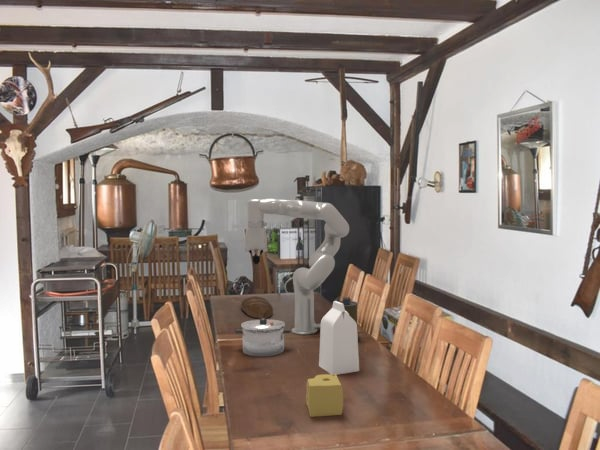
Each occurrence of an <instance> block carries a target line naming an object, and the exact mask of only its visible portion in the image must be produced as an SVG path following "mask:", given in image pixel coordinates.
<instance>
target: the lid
mask: <svg viewBox="0 0 600 450" xmlns="http://www.w3.org/2000/svg"><path fill="white" fill-rule="evenodd" d="M240 325H241V329H242V328H244V329H247V330H257V331H264V330H275V329H280V328H283V327H284V328H285V326H286V323H285V321H282V320H278V319H269V318H266V319H265V318H262V319H252V320H247V321H244V322H242V323H241V324H240Z"/></svg>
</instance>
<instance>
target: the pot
mask: <svg viewBox="0 0 600 450" xmlns="http://www.w3.org/2000/svg"><path fill="white" fill-rule="evenodd" d="M291 333H292V328H285V327H283V328H280V329H275V330H264V331H257V330H247V329H244V328H242V327H241V328H239V329H238V328H237V329H235V334H242V353H243V354H244V355H247V356H250V357H251V356H252V357H274V356H276V355H279V354H282V353H283V352H284V351H285V334H291Z"/></svg>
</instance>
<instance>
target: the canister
mask: <svg viewBox="0 0 600 450" xmlns="http://www.w3.org/2000/svg"><path fill="white" fill-rule="evenodd" d="M338 302H340V303H342V304H344V309H345V311H347V312H348V313H349V316H350V317H351V318H352V319H354V321H355V322H356V324H357V325H358V305H359V304H358V302H356V301H353V300H352V299H351V297H350V296H343V297H342V300H340V301H338Z"/></svg>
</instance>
